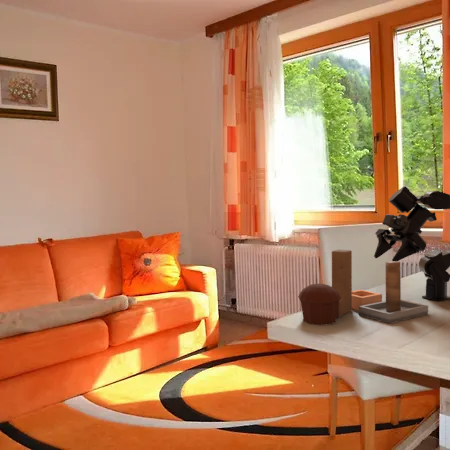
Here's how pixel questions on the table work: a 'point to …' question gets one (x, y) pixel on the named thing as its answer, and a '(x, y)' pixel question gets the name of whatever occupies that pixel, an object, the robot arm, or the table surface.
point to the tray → (406, 312)
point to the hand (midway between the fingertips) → (383, 259)
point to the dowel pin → (393, 286)
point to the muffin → (319, 304)
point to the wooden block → (342, 279)
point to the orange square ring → (364, 298)
